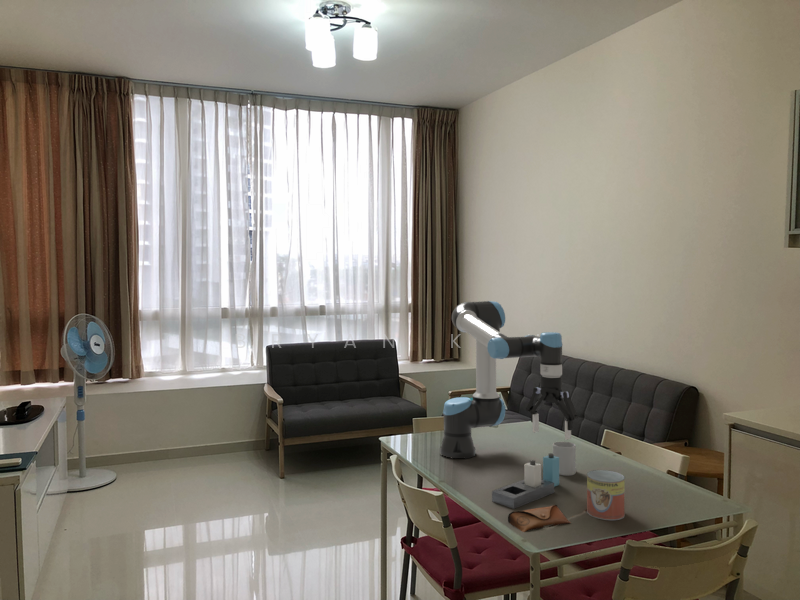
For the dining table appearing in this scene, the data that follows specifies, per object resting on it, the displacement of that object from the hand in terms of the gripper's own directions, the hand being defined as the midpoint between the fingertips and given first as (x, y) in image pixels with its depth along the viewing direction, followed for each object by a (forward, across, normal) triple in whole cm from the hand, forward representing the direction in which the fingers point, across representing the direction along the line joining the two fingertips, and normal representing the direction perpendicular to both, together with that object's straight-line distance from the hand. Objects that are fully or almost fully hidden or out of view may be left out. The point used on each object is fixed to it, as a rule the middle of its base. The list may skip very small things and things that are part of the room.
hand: (551, 435), depth 211 cm
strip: (+18, +1, -17) cm, 25 cm away
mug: (+18, -7, +17) cm, 26 cm away
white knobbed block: (+18, +1, -12) cm, 21 cm away
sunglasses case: (+19, +16, -29) cm, 39 cm away
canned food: (+19, +26, -8) cm, 33 cm away
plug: (+18, 0, 0) cm, 18 cm away
